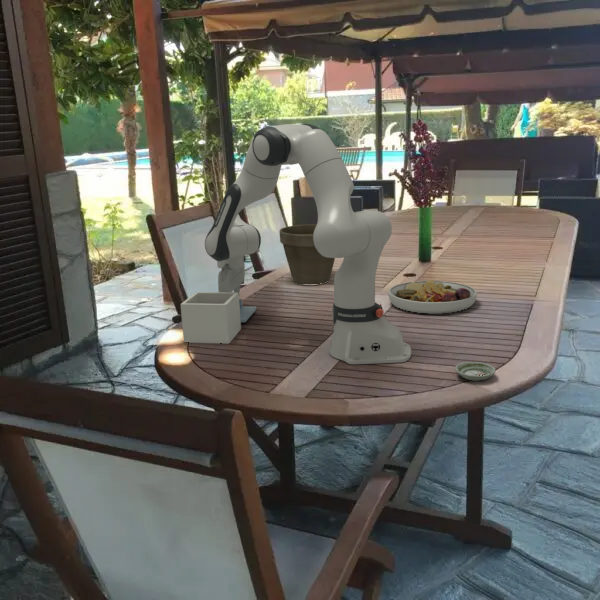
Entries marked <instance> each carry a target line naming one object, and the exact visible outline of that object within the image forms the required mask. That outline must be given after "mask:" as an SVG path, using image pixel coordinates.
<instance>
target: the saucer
mask: <svg viewBox="0 0 600 600" xmlns="http://www.w3.org/2000/svg"><path fill="white" fill-rule="evenodd" d="M454 370H455V372H456V373H457V374H458V375H459V376H460V377H462V378H464V379H466V378H467V379H466V380H468V379H471V380H482V381H484V380H486V379H489V378H491V377H492V376H493V375H495V374H496V368H495V367H494V366H493V365H490V364H488V363H484V362H479V361H466V362H460V363H458V364H456V365H455V367H454ZM477 371H478V372H479V373H480V372H482V373H485V375H483V376H482V374H480V376H479V374H478V372H477ZM483 379H484V380H483ZM471 380H470V381H471Z"/></svg>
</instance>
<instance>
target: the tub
mask: <svg viewBox="0 0 600 600" xmlns="http://www.w3.org/2000/svg"><path fill="white" fill-rule="evenodd" d="M239 293H240V292H239ZM239 293H238V292H234V291H232V292H219V291H209V292H208V291H205V292H204V291H202V292H201V291H195V292H194V293H193V294H192V295H190V296H189V297H188V298H187V299H185V300H183V302H182V303H180V313H181V324H182V333H183V334H182V336H183V338H182V339H183V343H184V342H189V344H190V343H191V344H220V343H222V344H225V345H226V344H227V345H229V344H230V343H231V342H232V341H233V339H234V338H235V337H236V336H237V335H238V333H239V332H240V331H241V330H242V322H241V319H240V304H239V299H240V296H239Z"/></svg>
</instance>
